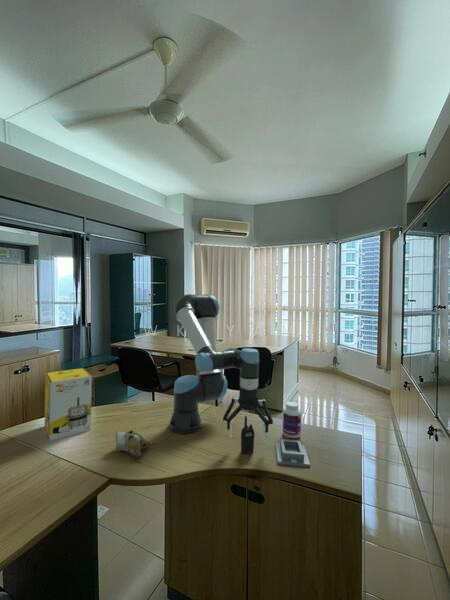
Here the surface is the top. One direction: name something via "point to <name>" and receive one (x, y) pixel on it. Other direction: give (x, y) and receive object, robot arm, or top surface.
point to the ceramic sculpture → (131, 443)
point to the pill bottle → (291, 420)
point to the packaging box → (67, 402)
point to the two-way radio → (247, 438)
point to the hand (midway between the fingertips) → (247, 438)
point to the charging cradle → (291, 453)
